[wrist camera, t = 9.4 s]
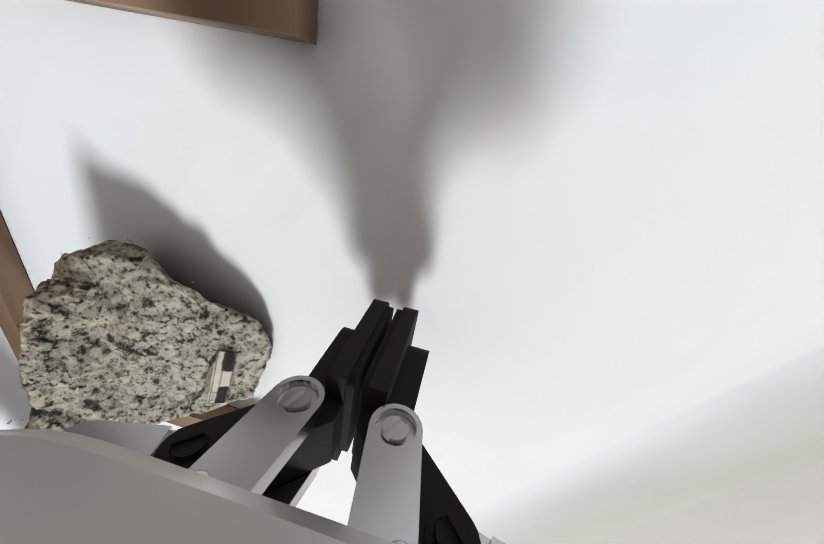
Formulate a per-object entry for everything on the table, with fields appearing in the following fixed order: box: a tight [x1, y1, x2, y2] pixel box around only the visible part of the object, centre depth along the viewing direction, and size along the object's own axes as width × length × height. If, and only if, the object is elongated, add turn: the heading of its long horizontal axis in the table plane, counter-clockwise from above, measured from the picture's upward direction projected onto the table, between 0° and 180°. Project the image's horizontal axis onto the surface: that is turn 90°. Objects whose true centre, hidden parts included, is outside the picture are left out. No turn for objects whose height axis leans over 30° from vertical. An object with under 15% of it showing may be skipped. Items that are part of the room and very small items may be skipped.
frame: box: [0, 0, 317, 427], centre depth 14 cm, size 17×20×1 cm
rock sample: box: [7, 238, 272, 431], centre depth 14 cm, size 10×8×9 cm
